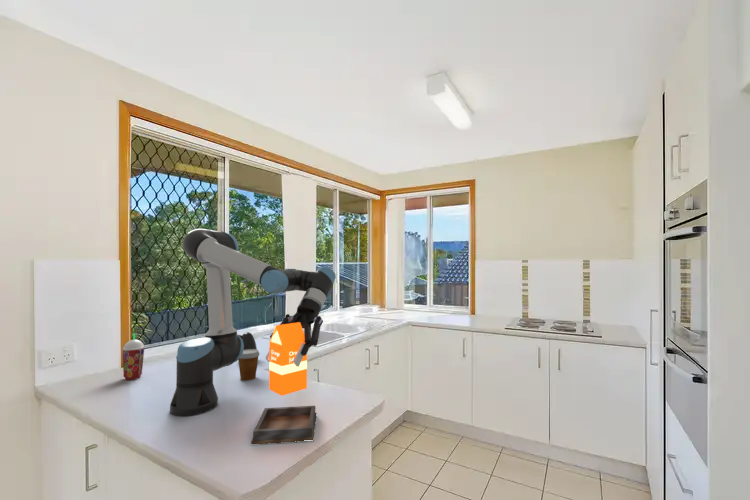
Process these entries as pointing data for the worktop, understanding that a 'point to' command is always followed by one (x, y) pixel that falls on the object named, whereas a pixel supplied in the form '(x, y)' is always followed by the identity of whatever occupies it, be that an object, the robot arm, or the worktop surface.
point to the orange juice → (287, 360)
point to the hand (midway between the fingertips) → (281, 362)
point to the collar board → (285, 425)
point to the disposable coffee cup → (248, 364)
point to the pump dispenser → (248, 341)
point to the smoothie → (133, 359)
